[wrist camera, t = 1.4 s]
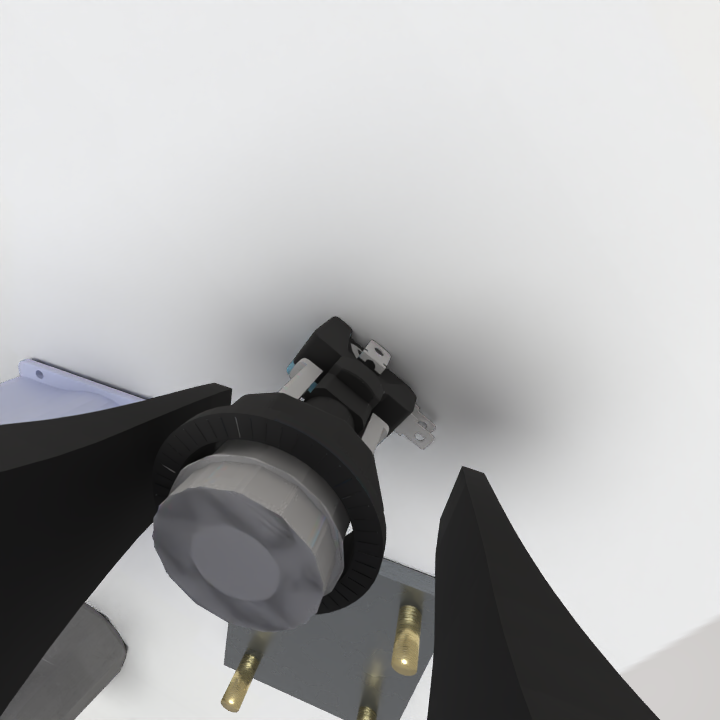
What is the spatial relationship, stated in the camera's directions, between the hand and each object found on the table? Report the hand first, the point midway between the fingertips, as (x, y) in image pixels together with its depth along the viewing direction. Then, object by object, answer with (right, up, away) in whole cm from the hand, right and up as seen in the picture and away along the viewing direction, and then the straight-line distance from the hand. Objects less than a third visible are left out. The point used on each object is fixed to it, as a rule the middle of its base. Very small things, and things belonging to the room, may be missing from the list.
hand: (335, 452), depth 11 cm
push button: (+1, +2, +5) cm, 6 cm away
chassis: (-1, -14, +12) cm, 18 cm away
